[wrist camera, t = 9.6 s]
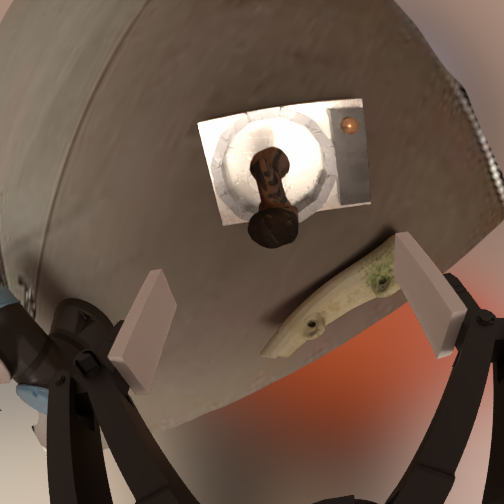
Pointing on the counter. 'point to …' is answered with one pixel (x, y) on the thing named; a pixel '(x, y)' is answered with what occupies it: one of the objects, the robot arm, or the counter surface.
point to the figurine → (272, 201)
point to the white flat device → (290, 156)
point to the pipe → (336, 300)
